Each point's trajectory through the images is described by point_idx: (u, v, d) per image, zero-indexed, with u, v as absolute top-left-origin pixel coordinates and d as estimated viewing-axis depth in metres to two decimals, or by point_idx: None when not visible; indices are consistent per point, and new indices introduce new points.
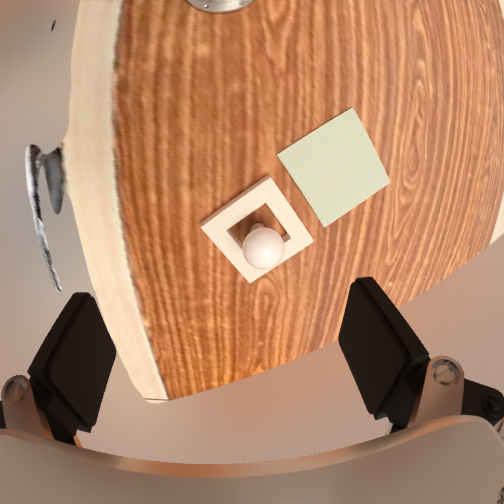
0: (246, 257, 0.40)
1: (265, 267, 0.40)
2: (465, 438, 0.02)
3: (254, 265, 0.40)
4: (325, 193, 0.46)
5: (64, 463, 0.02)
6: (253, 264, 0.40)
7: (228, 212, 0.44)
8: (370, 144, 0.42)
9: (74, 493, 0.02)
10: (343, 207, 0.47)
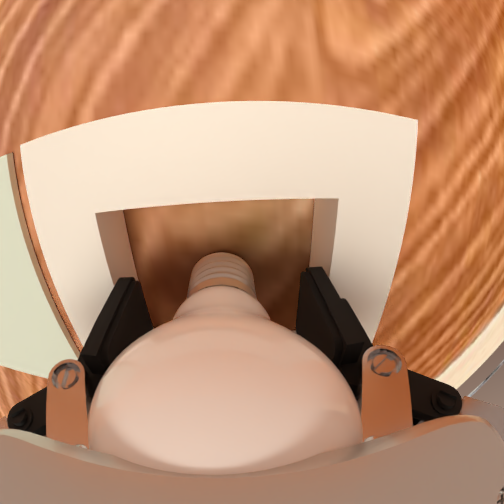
0: None
1: None
2: (465, 438, 0.02)
3: None
4: None
5: (64, 463, 0.02)
6: None
7: None
8: None
9: (74, 493, 0.02)
10: None
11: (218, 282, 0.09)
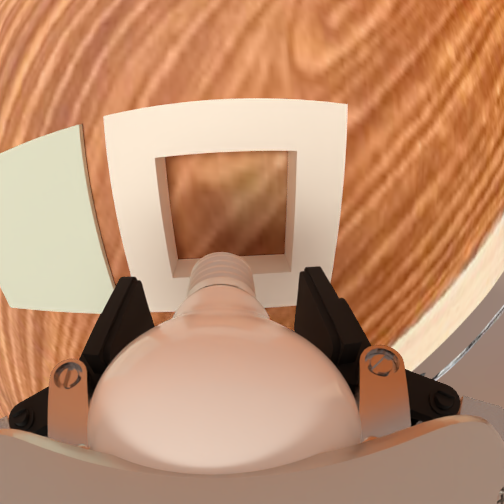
0: None
1: None
2: (465, 438, 0.02)
3: None
4: (54, 204, 0.16)
5: (64, 463, 0.02)
6: None
7: (258, 300, 0.19)
8: None
9: (74, 493, 0.02)
10: (30, 155, 0.14)
11: (218, 281, 0.09)
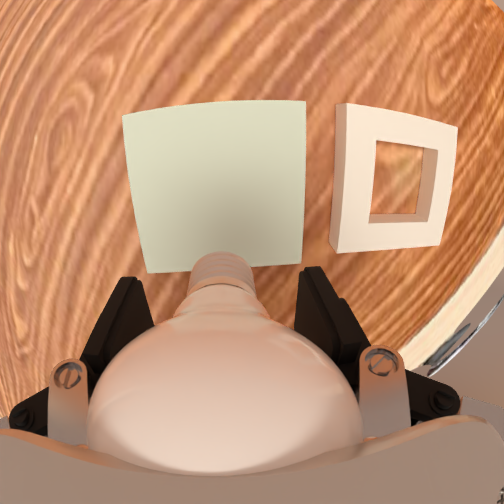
0: None
1: None
2: (465, 438, 0.02)
3: None
4: (267, 161, 0.23)
5: (64, 463, 0.02)
6: None
7: (409, 242, 0.26)
8: (137, 205, 0.23)
9: (74, 493, 0.02)
10: (246, 113, 0.21)
11: (218, 281, 0.09)
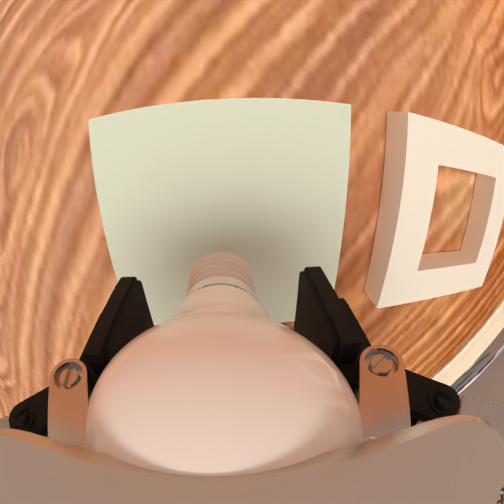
0: None
1: None
2: (465, 438, 0.02)
3: None
4: (295, 188, 0.16)
5: (64, 463, 0.02)
6: None
7: (454, 287, 0.19)
8: (112, 245, 0.17)
9: (74, 493, 0.02)
10: (268, 116, 0.14)
11: (218, 281, 0.09)
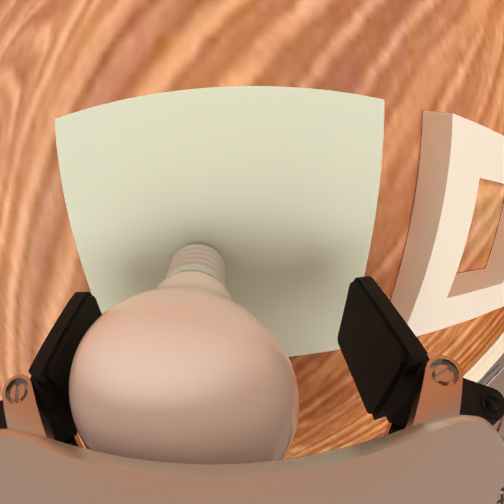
0: None
1: None
2: (465, 438, 0.02)
3: None
4: (315, 204, 0.13)
5: (64, 463, 0.02)
6: None
7: (479, 310, 0.16)
8: (90, 272, 0.13)
9: (74, 493, 0.02)
10: (282, 111, 0.10)
11: (189, 268, 0.10)
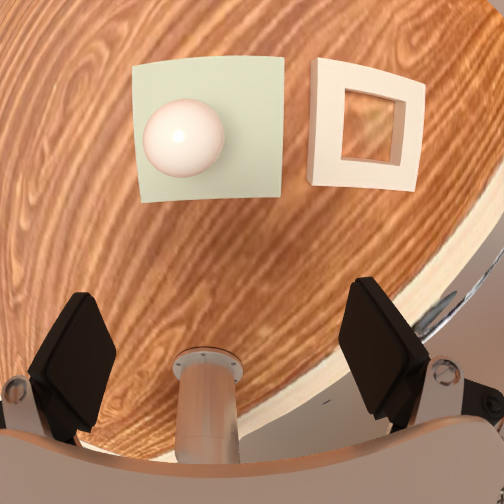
0: (215, 151, 0.18)
1: (191, 119, 0.16)
2: (465, 438, 0.02)
3: (209, 132, 0.17)
4: (250, 103, 0.25)
5: (64, 463, 0.02)
6: (210, 136, 0.17)
7: (382, 183, 0.28)
8: (138, 139, 0.25)
9: (74, 493, 0.02)
10: (234, 65, 0.23)
11: None
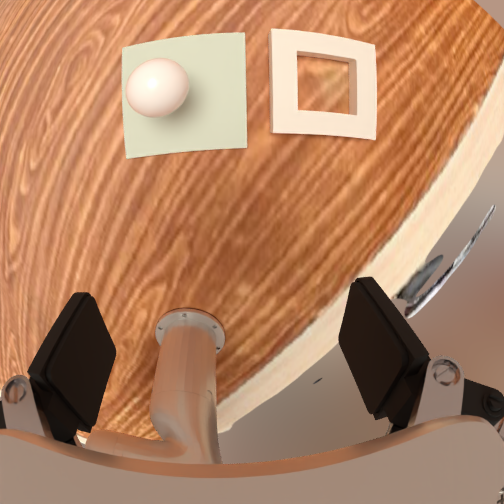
0: (180, 92, 0.21)
1: (161, 67, 0.19)
2: (465, 438, 0.02)
3: (175, 76, 0.19)
4: (217, 70, 0.28)
5: (64, 463, 0.02)
6: (175, 79, 0.20)
7: (341, 130, 0.30)
8: (125, 104, 0.28)
9: (74, 493, 0.02)
10: (204, 41, 0.25)
11: None
